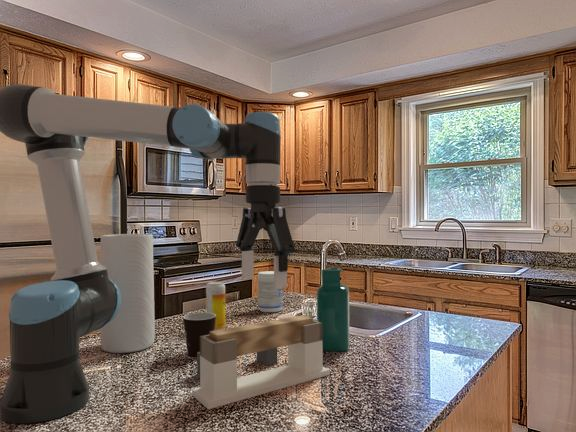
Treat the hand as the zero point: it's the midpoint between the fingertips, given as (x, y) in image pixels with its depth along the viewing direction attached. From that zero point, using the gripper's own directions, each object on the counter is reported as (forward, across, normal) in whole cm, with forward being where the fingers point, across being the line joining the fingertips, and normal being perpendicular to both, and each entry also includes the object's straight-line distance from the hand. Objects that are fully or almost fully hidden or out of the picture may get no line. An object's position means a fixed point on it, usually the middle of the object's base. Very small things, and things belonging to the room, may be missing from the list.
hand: (263, 283), depth 93 cm
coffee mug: (+22, +29, +2) cm, 36 cm away
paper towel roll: (+22, +46, +17) cm, 54 cm away
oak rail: (+14, 0, 0) cm, 14 cm away
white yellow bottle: (+22, +48, -11) cm, 54 cm away
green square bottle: (+22, +11, -29) cm, 38 cm away
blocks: (+22, +12, 0) cm, 25 cm away
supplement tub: (+22, +61, -40) cm, 76 cm away
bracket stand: (+22, 0, 0) cm, 22 cm away
